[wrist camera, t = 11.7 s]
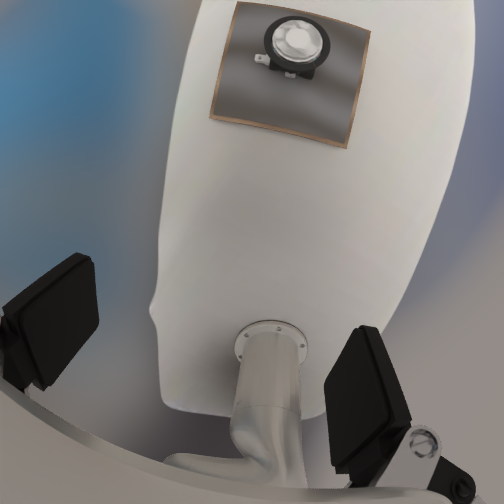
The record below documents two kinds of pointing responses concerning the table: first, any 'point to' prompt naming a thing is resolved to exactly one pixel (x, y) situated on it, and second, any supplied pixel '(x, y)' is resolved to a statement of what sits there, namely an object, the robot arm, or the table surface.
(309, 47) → the push button
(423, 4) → the table surface
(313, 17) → the walnut stand
